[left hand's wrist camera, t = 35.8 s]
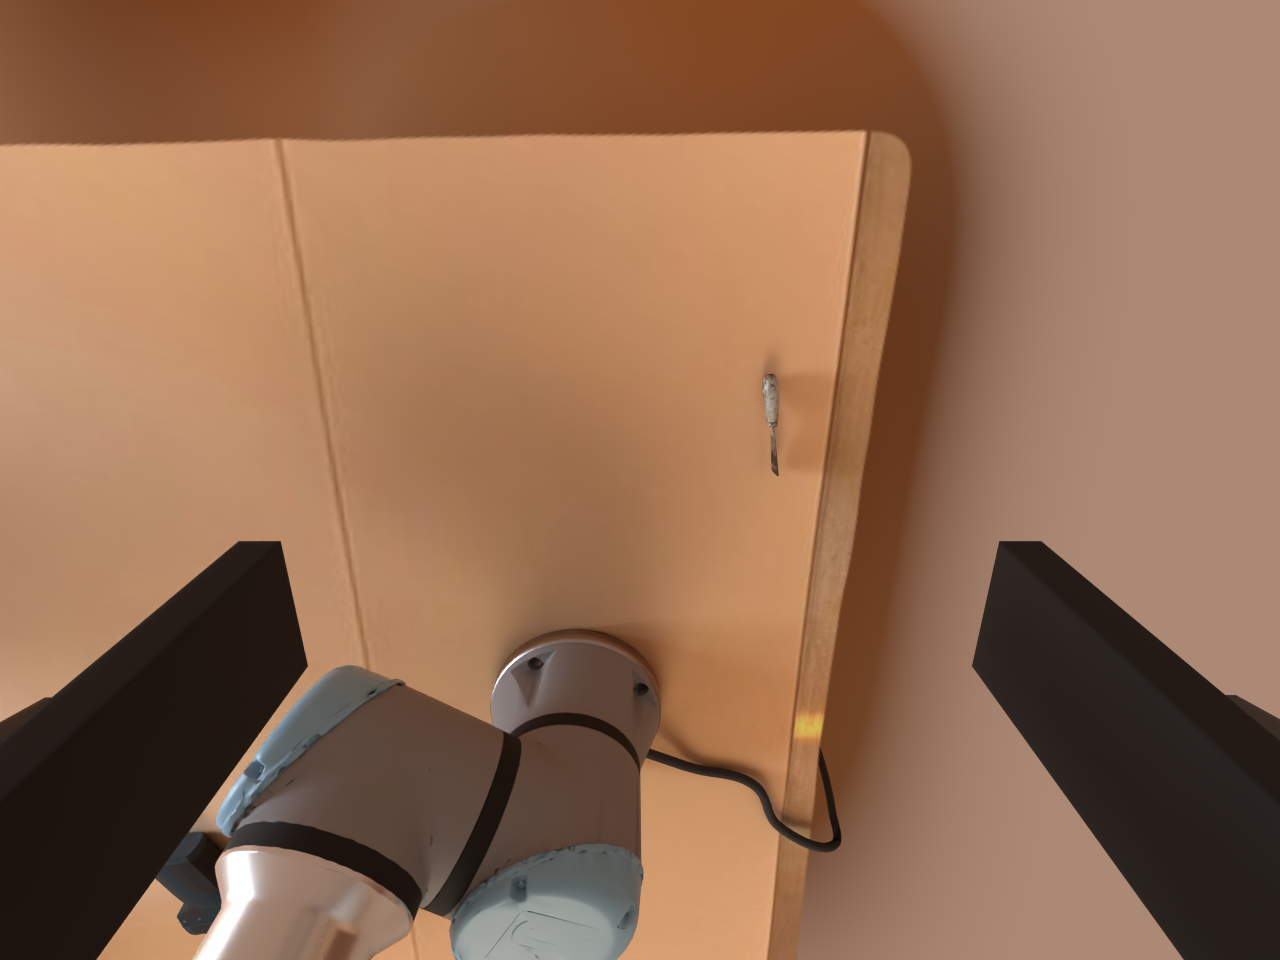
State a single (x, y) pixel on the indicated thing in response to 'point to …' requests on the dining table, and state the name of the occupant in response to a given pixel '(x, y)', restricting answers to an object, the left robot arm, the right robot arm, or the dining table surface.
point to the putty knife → (771, 412)
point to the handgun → (194, 882)
